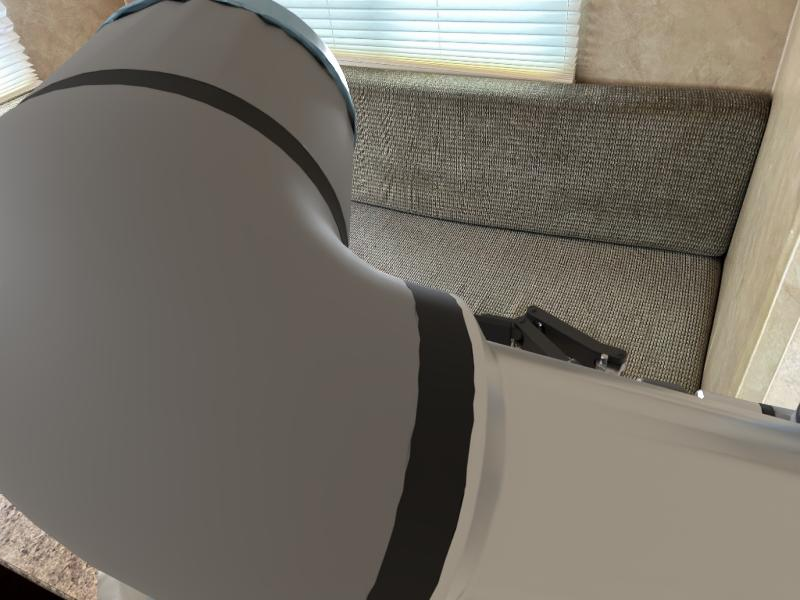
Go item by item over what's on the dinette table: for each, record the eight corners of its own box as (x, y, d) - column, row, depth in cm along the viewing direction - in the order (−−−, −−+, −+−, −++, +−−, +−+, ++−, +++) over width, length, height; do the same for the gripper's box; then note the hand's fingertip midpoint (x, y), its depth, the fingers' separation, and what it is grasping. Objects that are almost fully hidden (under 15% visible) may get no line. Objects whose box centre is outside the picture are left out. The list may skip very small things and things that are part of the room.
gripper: (655, 625, 38) (357, 519, 46) (683, 358, 56) (463, 313, 63) (679, 567, 34) (342, 460, 41) (701, 295, 51) (461, 254, 58)
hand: (415, 371), depth 52 cm, fingers open, 13 cm apart
